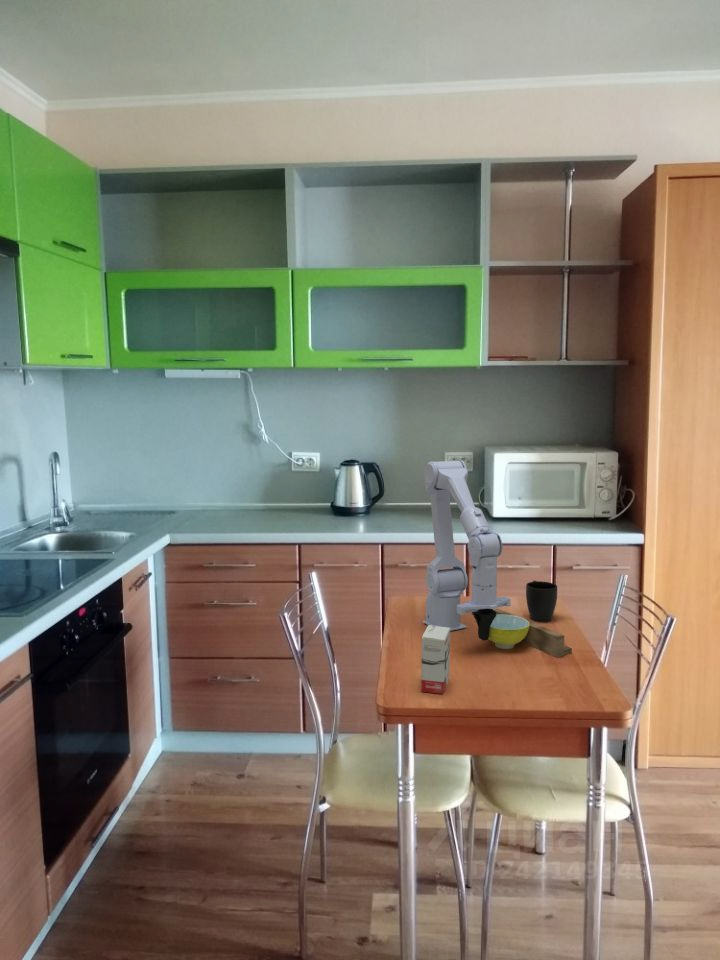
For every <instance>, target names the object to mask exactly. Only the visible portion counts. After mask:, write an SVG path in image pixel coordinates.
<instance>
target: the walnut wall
mask: <svg viewBox="0 0 720 960" xmlns="http://www.w3.org/2000/svg"><path fill="white" fill-rule="evenodd" d="M493 610H494V611H496V615H498V614H504V615H513V616H516V614H512V613H509V612H507V611H504V610H502V609H500V608H496V609H493ZM527 621H528V622H529V623H530V626H529V630H528V633H527V635H526V636H525V638H524V639H523V640H522V641H520V642H521V643H523V644H526V645H528V646H530V647H533V648H535V649H538V650H539V651H541V652H543V653H546V654H548V655H551V656H552V657H554V658H557V659H558V658H561V656H562V657H564V656H566V655H571V654H572V652H573V650H572V649H573V648H572V647H569V646H568V645H565V635H564V634H561V633H559V632H557V631H554V630H551V629H549V628H547V627H544V626H543V625H542V626H541V625H539V624H537V623H534V622H532V621H529V620H527ZM565 654H566V655H565Z"/></svg>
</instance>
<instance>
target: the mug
mask: <svg viewBox="0 0 720 960" xmlns="http://www.w3.org/2000/svg"><path fill="white" fill-rule="evenodd" d="M525 597H526V598H525V599H526V605H527V610H528V613H529V616H530V620H532V621H533V622H537V623H547V622H551V621H552V619H553V615H554V612H555V610H556V606H557V601H558V600H557V599H558V585H557V584H555V583H553V582H549V581H539V580H532V581H531V582H527V583H526V586H525Z"/></svg>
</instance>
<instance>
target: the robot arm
mask: <svg viewBox="0 0 720 960" xmlns="http://www.w3.org/2000/svg"><path fill="white" fill-rule="evenodd" d="M468 471H469V470H468V467H467V464H466V463H465V461H463V460H462V459H457V460H445V461H441V460H440V461H429V462H428V463H426V466H425V469H424V471H423V478H424V479H423V480H424V487H425V493H426V494H428V495H430V506H431V518H432V520H431V521H432V529H433V539H434V540H433V541H434V550H435V551H434V553H435V558H433V560H431V562H429V563H428V565H426V577H425V584H426V588H427V591H428V594H427V596H426V599H425V620H422V623H423V624H425V625H427V626H428V625H433V626H440V627H447V628H450V632H453V631H457V630H463V629H467V628H468V625H466V624H464V623H462V622H461V616H464V615H466V614H470V613H471V614H472V616H473V618H474V619H475V622H476V624H477V634H478V639H480V640H481V641H483V642H484V641H488V640H489V629H490V626H491V624H492V622H493V620H494V618H495V617H496V611H494V610H493V609H498V608H502V607H511V600H512V599H511V598H510V597H508V596H499V597H497V582H498V581H497V580H498V578H497V576H498V575H497V574H498V572H497V571H498V557H500V556H501V554H502V552H503V542H502V539H501V536H500V534H499V533H498V532H496V531H495V530H494V529H493V528H492V529H491V528H490V525H489V523H488V521H487V519H486V517H485V515H484V513H483V510H482V509H481V508H479V507H476V506H475V503H474V500H473V497H472V494H471V492H470V489H469V486H468V484H467V482H468V478H469V477H468V476H469V472H468ZM451 496H452V498H453V499H454V502H455V504H456V505H457V507H458V509H459V510H460V512H461V514H460V516H459V520H460V523H461V526H462V527H463V530H464V532H465V534H466V537H467V538H468V543H467V549H468V550H467V551H468V555H469V562H470V565H471V567H472V571H471V572H472V573H471V574H472V576H471V577H472V578H471V585H472V586H471V599H470V600H468V601H466V602H464V603H461V595H463V594H464V591H465V590H466V589H467V587H468V583H469V582H468V581H469V577H468V574H467V572H466V568H465V563H464V562H463V561H462V560H461V559H459V558H458V557H457V556H456V554H455V553H456V552H455V542H454V541H455V540H454V530H453V529H454V528H453V520H452V510H451V499H450V497H451ZM445 568H446V569H445Z"/></svg>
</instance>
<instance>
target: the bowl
mask: <svg viewBox="0 0 720 960" xmlns="http://www.w3.org/2000/svg"><path fill="white" fill-rule="evenodd" d="M513 615H514V614H512V615H504V614H498V615H496V617H495V618H494V620H493V622H492V624H491V626H490V629H489V638H488V640H490V641H491V642H493V643H495V647H496V648H499V649H501V650H511V649H513V648H515V645H517V644H518V643H520V642H521V641H522V640H523V639H524V638H525V636H526V635H527V633H528V630H529V626H530V623H529V622H528V621H529V620H527V619H525V618H523V617H521V616H517V615H515V616H513Z"/></svg>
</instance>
